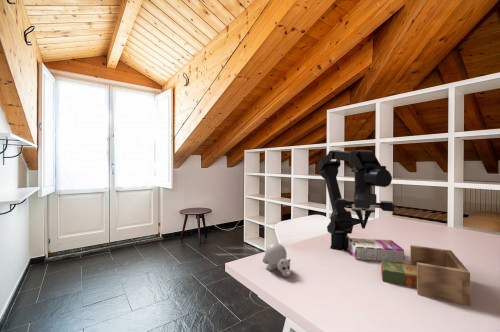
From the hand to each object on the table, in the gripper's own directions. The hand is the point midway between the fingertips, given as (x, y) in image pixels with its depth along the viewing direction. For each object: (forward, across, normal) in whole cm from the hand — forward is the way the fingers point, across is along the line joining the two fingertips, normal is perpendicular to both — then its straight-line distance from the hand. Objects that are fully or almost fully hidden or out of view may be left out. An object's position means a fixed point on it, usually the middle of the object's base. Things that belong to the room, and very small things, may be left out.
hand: (363, 228), depth 84 cm
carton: (+13, +14, -9) cm, 21 cm away
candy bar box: (+10, +11, +11) cm, 18 cm away
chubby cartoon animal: (+12, -24, -22) cm, 35 cm away
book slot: (+12, +18, -8) cm, 23 cm away
